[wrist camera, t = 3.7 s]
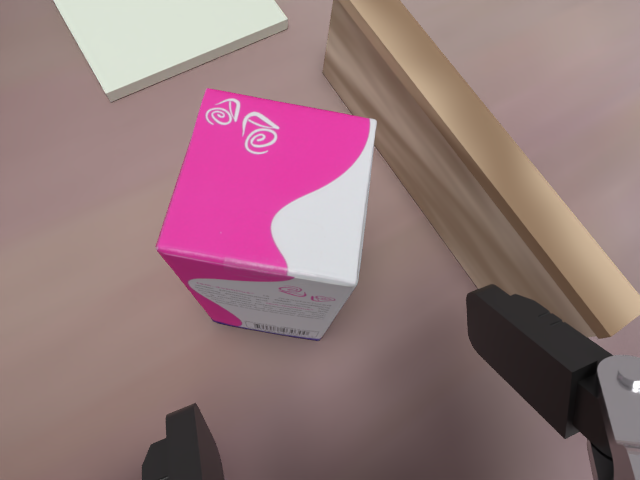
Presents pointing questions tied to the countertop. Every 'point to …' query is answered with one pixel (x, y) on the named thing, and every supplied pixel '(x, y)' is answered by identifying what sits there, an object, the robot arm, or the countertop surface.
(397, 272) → the countertop surface
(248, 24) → the mat
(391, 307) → the countertop surface
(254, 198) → the supplement box
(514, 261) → the wooden plank offcut
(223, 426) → the countertop surface
